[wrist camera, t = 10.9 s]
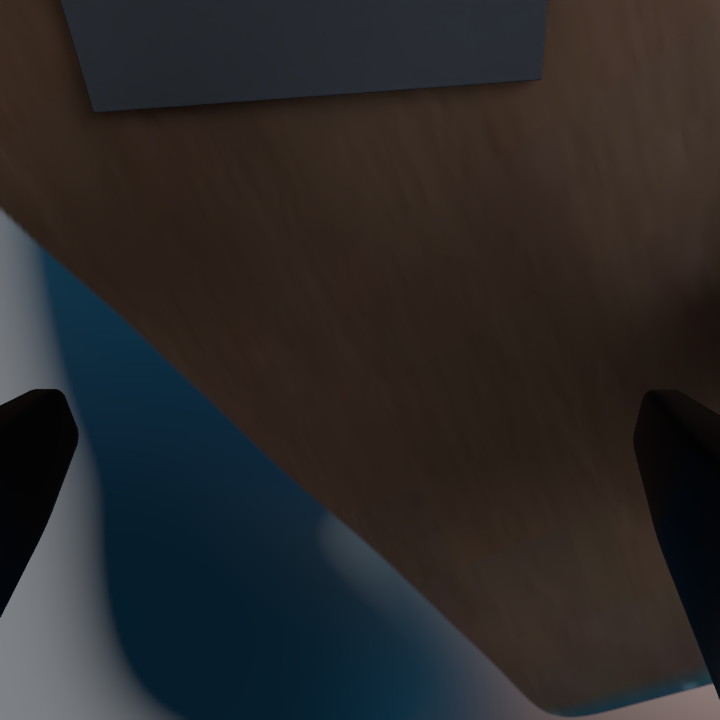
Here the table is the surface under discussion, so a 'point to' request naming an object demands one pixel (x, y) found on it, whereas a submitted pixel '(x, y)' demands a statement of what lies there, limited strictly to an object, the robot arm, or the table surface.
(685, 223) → the table surface
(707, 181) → the table surface
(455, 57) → the desk mat
